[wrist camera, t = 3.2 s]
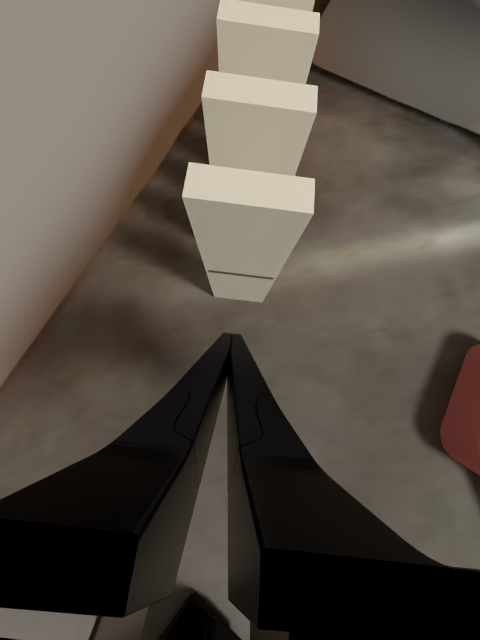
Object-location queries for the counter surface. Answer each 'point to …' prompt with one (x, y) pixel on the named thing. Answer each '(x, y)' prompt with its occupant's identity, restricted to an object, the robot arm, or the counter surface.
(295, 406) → the counter surface
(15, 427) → the counter surface
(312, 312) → the counter surface
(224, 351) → the robot arm
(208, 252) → the domino
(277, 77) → the domino
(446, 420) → the plaque
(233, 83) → the domino
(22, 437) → the counter surface
